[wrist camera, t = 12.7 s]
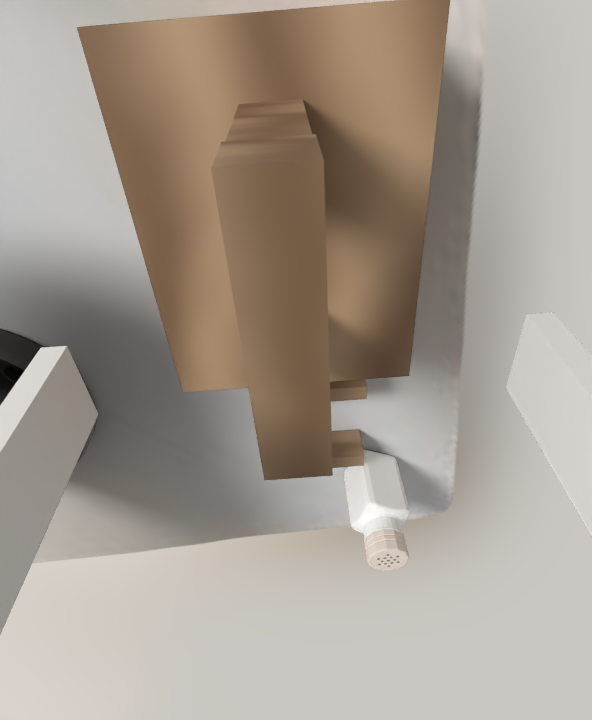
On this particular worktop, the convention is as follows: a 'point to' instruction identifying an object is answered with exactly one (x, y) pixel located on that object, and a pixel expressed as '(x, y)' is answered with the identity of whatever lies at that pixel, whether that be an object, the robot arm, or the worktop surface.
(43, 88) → the worktop surface
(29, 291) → the worktop surface
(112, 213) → the worktop surface
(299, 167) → the wooden post stand
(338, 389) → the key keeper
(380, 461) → the pepper shaker
